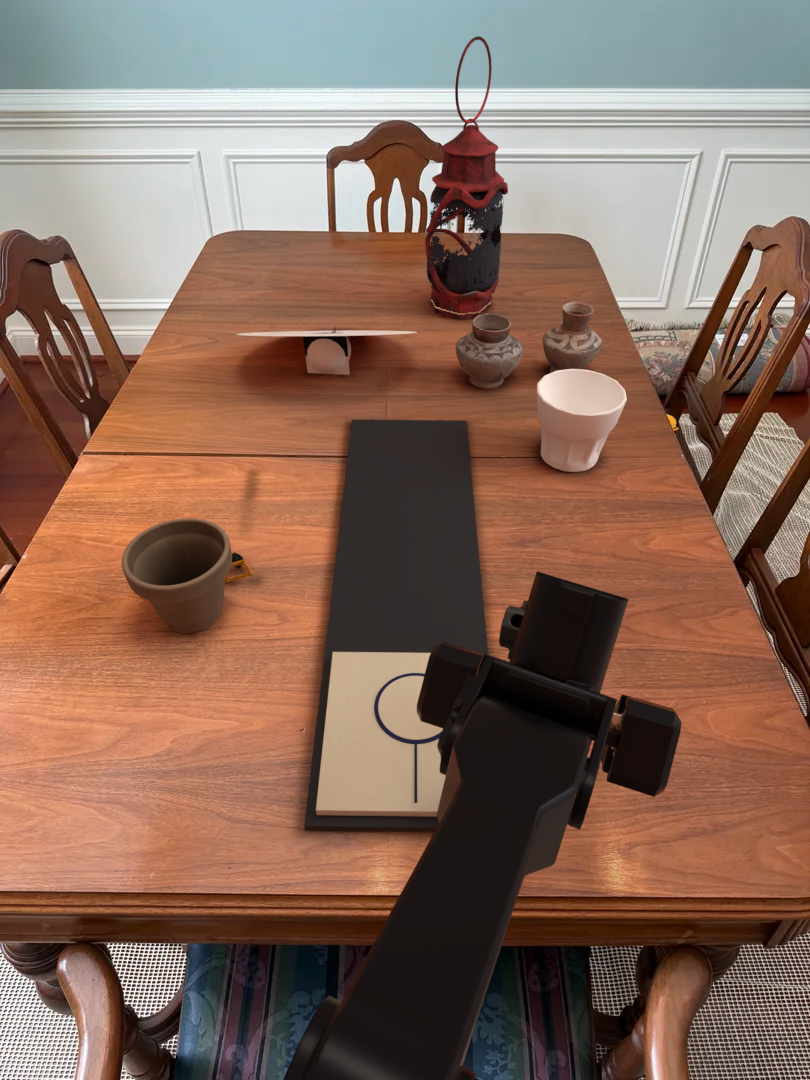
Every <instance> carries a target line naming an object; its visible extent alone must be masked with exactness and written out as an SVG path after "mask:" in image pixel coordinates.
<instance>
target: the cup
mask: <svg viewBox="0 0 810 1080" xmlns="http://www.w3.org/2000/svg"><path fill="white" fill-rule="evenodd" d="M627 401H628V399H627V393H626V390H625V388H624V387H623V386H622V384H620V382H619V381H617V380H615V379H614V378H612V377H610V376H609V375H607V374H604V373H601V372H597V371H593V370H589V369H583V370H582V369H566V370H558V371H554V372H552V373H550V372H549V373H548V374H545V375H544V376H543V377H541V378H540V379H539V381H538V382H537V383H536V413H537V414H536V415H537V419H538V420H539V422H540V433H541V434H540V435H541V436H540V439H541V444H540V445H541V446H540V457H541V458H542V460H543V461H544V463H546V464H547V465H548V466H550V467H552V468H554V469H557V470H560V471H563V472H569V473H570V472H571V473H577V472H584V471H585V472H586V471H588V470H590V469H591V468H593V467H594V466H595V465H596V464H597V462H598V461H599V457H600V454H601V451H602V449H603V448H604V445H605V443H606V441H607V439H608V437H609V435H610V432H612V431H613V429H614V428H615V427H616V425H617V424H618V422H619V419H620V417H621V415H622V412H623V410H624V407H625V405H626V402H627Z"/></svg>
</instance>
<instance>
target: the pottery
mask: <svg viewBox="0 0 810 1080" xmlns="http://www.w3.org/2000/svg"><path fill="white" fill-rule="evenodd" d="M561 309H562V324H559V325H556V326H553V327H551V328H549V329H547V330H546V331H545V333H543V335H542V346H543V352H544V356H545V358H546V360H547V362H548V363H549V364H550V365H551V366H550V367H549V374H550V373H552V372H554V371H558V370H566V369H582V370H585V369H586V368H587V367H589V366H590V365H591V364H592V363H593V362H594V360H595V359H596V357H597V356H598V354H599V353H600V351H601V349H602V347H603V339H602V338H601V336H599V334H598V333H597V332H596V331H595V330H593V329H592V328H590V327H589V324H590V321H591V318H592V316H593V313H594V311H595V309H594V307H593V306H592V305H591V304H589V303H586V302H582V301H571V302H567V303H565V304H563V305H562V307H561ZM471 324H472V325H471V326H472V327H471V329H472V331H471V332H469V333H466V334H465V335H463V336H461V337H460V338H459V339H458V340H457V341H456V342H455V354H456V358H457V361H458V363H459V365H460V367H461V369H462V370H463V371H464V372H465V373H466V374H467V375H468V376H469V383H471V384H472V385H473V386H475V387H478V388H481V389H494V388H495V389H496V388H498V387H499V386H501V385H502V384H503V383H504V379H506V378H507V377H508V376H509V375H511V374H512V373H513V372H514V371H515V370H516V368H518V366H519V364H520V363H521V360H522V357H523V355H524V344H523V343H522V341H521V340H519V339H518V338H517V337H515V336H513V335H512V334H511V333H510V331H511V328H512V327H511V326H512V321H511V320H510V319H509V318H508V317H506V316H504V315H502V314H498V313H483V314H482V315H479V316H477V317H475V318H473V320H472V323H471Z"/></svg>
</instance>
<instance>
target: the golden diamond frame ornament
mask: <svg viewBox="0 0 810 1080" xmlns="http://www.w3.org/2000/svg"><path fill="white" fill-rule="evenodd" d="M230 568H234V569H242V570H243V571H244V572H245V573H241V574H238V575H233V576H230V577H229V575H228V574H227V575H226V577H225V584H226V583H229V582H233V581H237V580H241V579H245V578H249V577H253V576H254V573H253V571H252V570H251V568H250V566H249V565H248V563H247V561H246V560H245V559H244V557H243V555H242V554H241V553H237V552H235V551H234V552H232V564H231V567H230Z"/></svg>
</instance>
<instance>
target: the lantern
mask: <svg viewBox="0 0 810 1080" xmlns="http://www.w3.org/2000/svg"><path fill="white" fill-rule="evenodd" d="M476 41H481V42H482V44H483V45H484V47H485V49H486V50H485V51H486V53H487V60H488V78H487V86H486V92H485V95H484V99H483V102H482V105H481V106H480V109H479V111H478V112H477V114H476V115H475V117H474V118H468V119H466V118H464V116H463V114H462V112H461V109H460V103H459V81H460V74H461V70H462V65H463V62H464V58H465V56H466V53H467V52H468V50H469V48H470V47H471V46H472V44H473V43H474V42H476ZM492 70H493V69H492V54H491V49H490V46H489V44H488V42H487V41H486V39H485V37H482V36H475V37H473V38H471V39H469V41H468V42H467V44H466V45H465V47H464V49H463V51H462V53H461V57H460V59H459V63H458V66H457V70H456V71H457V72H456V77H455V84H454V85H455V86H454V95H455V96H454V98H455V106H456V111H457V114H458V116H459V118H460V120H461V121H462V122H463V123H464V124H463V127H462V130H461V131H460V132H459V133H458V134H457V135H456V136H455V137H453V138H452V139H451V140H449V141H447V142H446V143H444V144H442V146H441V148H440V149H441V150H442V152H443V156H442V165H441V171H440V173H437V174H436V175H434V176H432V177H431V181H432V182H433V183H434V185H435V186H434V188H433V190H432V192H431V194H430V195H431V196H430V198H429V199H430V200H429V201H430V203H429V204H431V205H432V204H433V205H432V206H433V207H432V209H430V212H429V216H430V217H429V224H428V226H427V228H426V229H425V233H426V236H425V239H424V249H425V257H426V277H427V280H428V282H429V283H430V284H431V285H430V287H431V292H430V299H429V300H430V301H429V303H430V306H431V308H432V309H433V311H434V313H435V314H438V315H441V316H445V317H448V318H453V319H456V320H467V319H468V320H469V319H474V318H475V317H477V316H479V315H482V314H486V312H487V311H489V310H490V309H491V308H492V303H491V304H490V305H488V306H487V307H486V308H485V309H484V310H482V311H481V312H480V313H476V314H465V315H457V314H453V313H450V312H446V311H442V310H439V309H436V308H435V307H434V305H433V303H432V302H431V299H432V300H433V302H434V304H435V306H437V307H440V308H442V309H446V310H449V311H453V312H457V313H468V312H476V311H477V312H478V311H480V310H481V309H482V308H483V307H484V306H485V305H487V304H488V303H489V302H490V301H491V300H492V301H493V294H494V293H495V291H496V289H497V287H498V284H499V276H500V275H499V274H500V265H501V249H502V231H503V228H502V226H503V217H504V214H503V213H504V210H503V208H504V206H503V204H504V202H505V201H503V199H504V196H505V195H507V194H508V193H509V187H508V186H509V185H508V183H507V182H505V178H504V177H503V176H502V175H500V173H499V172H498V171H497V170H496V169H497V168H496V166H497V165H496V159H497V157H496V152H497V151H498V150H499V145H497V144H496V143H495V142H494V141H491V140H490V139H489V138H487V136H486V135H484V134H483V132H482V131H481V130H480V127H479V125H478V122H477V120H478V118H480V116H481V114H482V112H483V111H484V109H485V106H486V103H487V100H488V97H489V93H490V88H491V82H492ZM472 123H473V124H472ZM460 217H462V218H464V219H466V220H467V221H468V220H469V224H467V227H468V226H469V227H468V229H467V230H468V232H470V233H471V231H472V230H475V231H476V232H477V231H479V230H480V231H482V232H480V233H477V236H478V237H477V239H476V242H475V247H474V248H473V249H472V248H471V247H470V246H472V243H473V241H471V240H467V242H466V241H465V240H464V238H462V237H461V236H460V235H458V233H456V232H454V231H453V230H450V229H449V228H443V227H444V226H446V225H447V226H448V225H449V223H450V222H451V221H455V220H456V219H457V218H460ZM472 222H473V223H472ZM451 225H452V226H455V225H454V223H453V222H451ZM452 226H450V228H452ZM465 226H466V225H465V224H463V227H465ZM434 234H435V236H434ZM437 234H446V235H449V236H450V237H452V238H453V239H455V241H456V242H458V244H459V245H460V246H461V247H460V249H459V250H455V251H453V252H451V249H450V248H447V249H446V248H445V245H446V244H445V242H446V240H447V239H444V240H443V241H441V239H440V237H438V235H437ZM471 238H473V235H472V234H471ZM479 241H480V242H479ZM441 242H443V244H441ZM464 252H465V254H464ZM460 253H461V254H460Z"/></svg>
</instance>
